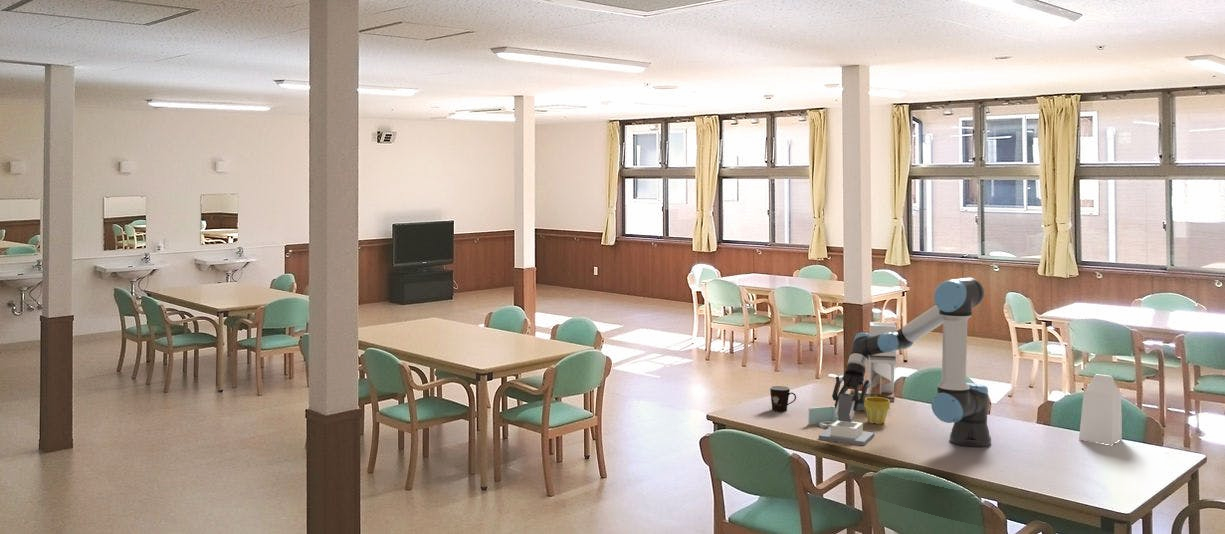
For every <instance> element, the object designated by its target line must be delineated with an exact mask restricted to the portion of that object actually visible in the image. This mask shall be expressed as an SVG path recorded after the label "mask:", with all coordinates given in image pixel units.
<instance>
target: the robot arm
mask: <svg viewBox="0 0 1225 534" xmlns="http://www.w3.org/2000/svg"><path fill="white" fill-rule="evenodd" d="M984 297H985V288H984V286H983V285H982V283H981V282H980V281H979V280H978V279H975V278H973V277H962V278H961V277H960V278H952V279H951V278H950V279H947V280H945V281H942V282H941V283H940V284H938V285H937V287H936V288H935V290H934V294H933V301H934V304H935V305H934V306H932V307H930V308H929V309H927V310H926V311H925V312H922V313H921V314H919V316H917V317H915V318H914V319H912V320H911V321H910V322H908V323H906V324H905V325H903V326H902V327H900V328H899V329H898V330H897V329H896V331H895V332H891V333H883V334H880V335H876V336H871V335H870V333H867V332H858V333H856V334H855V336H854V339H853V342H852V347H851V350H850V354H849V357H848V360H847V365H846V368H845V372H844V375H843V376H842V377H839V376H836V377H835V385H834V387H833V391H832V395H831V397H832V400H833V401H835V402H834V406H835V408H836V411H835V415H836V417H838V409H839V395H841V394H842V393H845V394H847V391H848V390H850V389H851V388H853V390H855V401H853V403H852V406H851V410H850V414H849V416H850V419H852V418H853V414H854V415H855V412H857V411H858V410H857V409H858V405H859V404H864V401H865V397H866V393H868V387H869V386H870V383H869V379H867V380H865V378H864V377H865V373H866V371H867V367H868V364H869V356H870V355H875V354H881V353H886V352H891V351H895V350H896V351H899V350H905V349H908V348H910V347H912V346H913V345H914V342H916V341H918V340H920V339H922V337H924V336H926V335H927V334H929V333H930V332H932V331H933V330H935V329H936V328H938V327H940V326H941V325H942V354H941V355H942V360H941V362H942V363H941V365H942V366H941V381H940V382H939V383H938V384H937V388H936V394H935V395H934V396H933V398H932V400H931V403H930V405H931V410H932V413H933V415H934V416H935V417H936V418H937V419H939V420H940V421H941V422H943V423H948V424H951V423H953V426H952V428H951V432H950V433H949V441H950V442H951V443H952V444H956V445H960V446H962V447H963V446H964V447H971V448H972V447H974V448H977V447H978V448H980V447H981V448H983V447H988V446H990V445H991V444H992V437H991V435H990V431H989V426H988V406H989V404H988V403H989V388H988V387H987V386H986V385H983V384H980V383H974V382H973V383H972V382H967V381H966V380H967V356H968V355H967V352H968V351H967V348H968V346H967V345H968V320H969V319H971V317H972V316H973V309H974V308H976V307H977V306H979V305H980V304H981V303H982V301H983V299H984ZM842 383H843V385H842V387H841V384H842ZM861 385H863V386H862V389H861V392H859V389H860V388H859V387H860V386H861ZM849 388H850V389H849ZM859 393H861V397H860V399H859Z"/></svg>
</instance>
